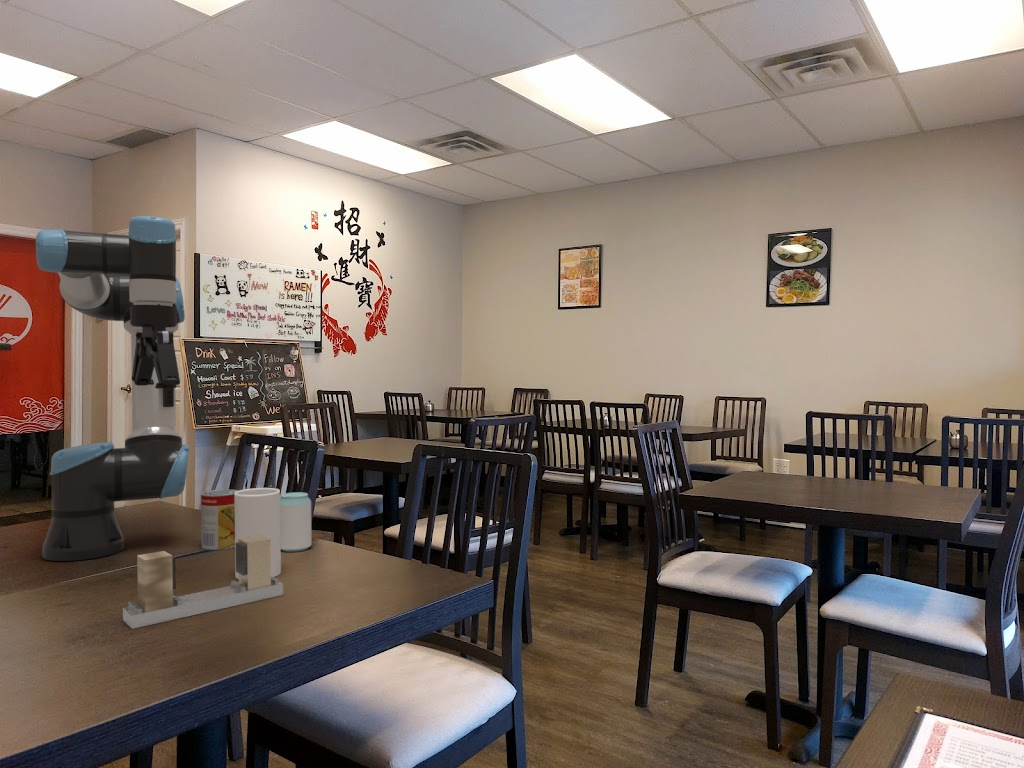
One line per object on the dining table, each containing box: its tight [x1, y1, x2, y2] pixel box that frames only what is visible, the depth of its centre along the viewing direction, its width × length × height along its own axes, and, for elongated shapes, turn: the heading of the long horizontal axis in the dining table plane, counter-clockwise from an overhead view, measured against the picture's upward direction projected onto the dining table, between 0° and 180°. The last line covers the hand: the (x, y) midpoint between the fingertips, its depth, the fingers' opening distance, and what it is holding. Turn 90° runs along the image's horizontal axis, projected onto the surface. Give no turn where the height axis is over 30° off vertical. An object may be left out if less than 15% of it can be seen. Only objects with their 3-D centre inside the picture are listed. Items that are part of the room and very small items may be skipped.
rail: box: [122, 535, 284, 630], centre depth 118 cm, size 5×24×10 cm, turn 132°
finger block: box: [136, 550, 177, 612], centre depth 113 cm, size 5×4×8 cm
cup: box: [234, 487, 282, 580], centre depth 137 cm, size 8×8×16 cm
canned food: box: [200, 488, 239, 551], centre depth 160 cm, size 8×8×12 cm
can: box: [280, 491, 313, 553], centre depth 157 cm, size 7×7×12 cm
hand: (155, 423), depth 129 cm, fingers open, 13 cm apart
